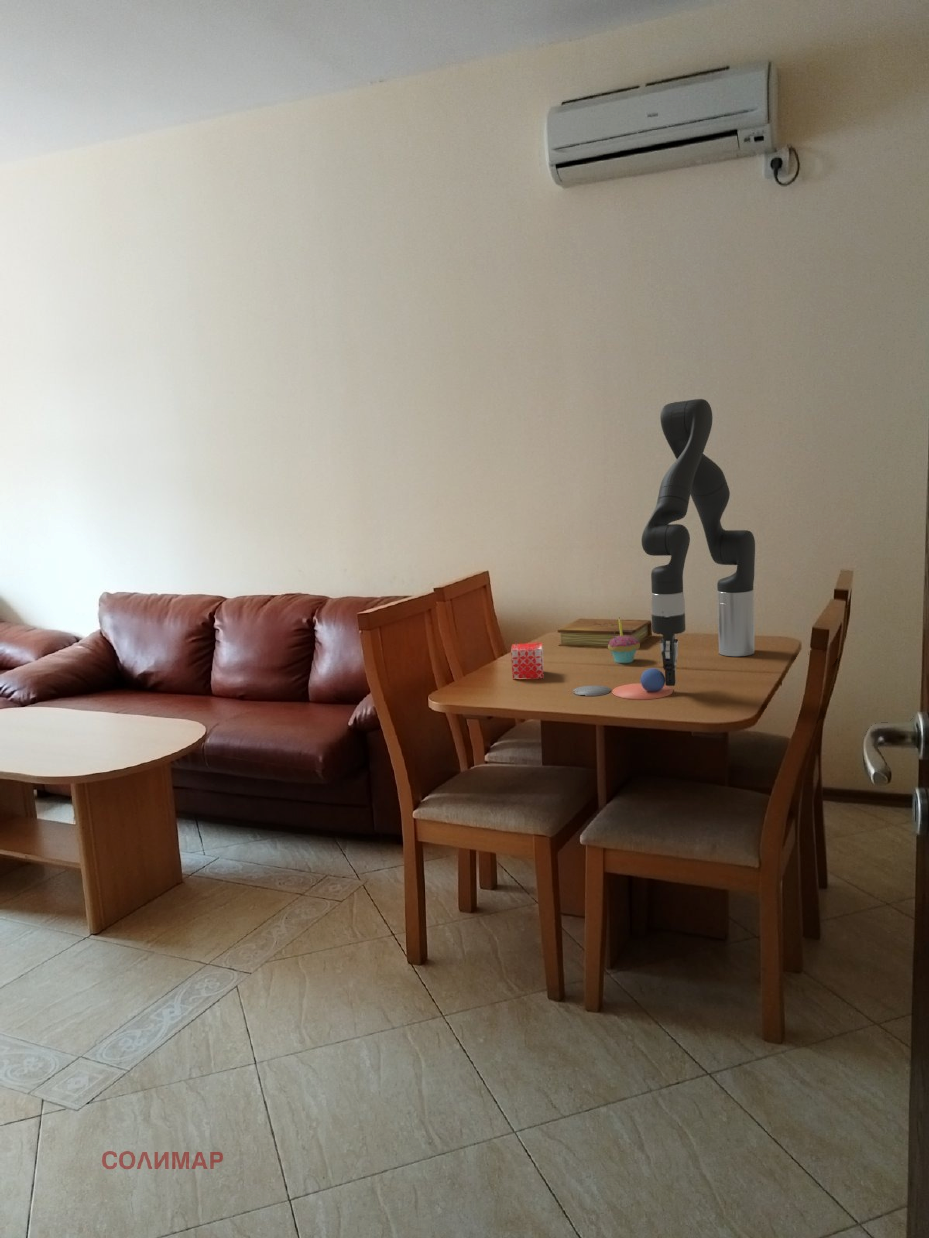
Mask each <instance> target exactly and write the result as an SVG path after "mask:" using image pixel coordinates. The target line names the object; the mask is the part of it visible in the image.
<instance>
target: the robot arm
mask: <svg viewBox="0 0 929 1238" xmlns="http://www.w3.org/2000/svg"><path fill="white" fill-rule="evenodd" d="M659 419H660V425H661V429H662V432H663V435H664V437H665V440H666V441H667V444H668V446H669V447H670V449H671V451H672V453H673V455H674V457H675V459H676V460H675V461H674V462H673V464H672V465H671V466H670V467H669V469H668V470H667V471H666V473H665V475H664V476H663V478H662V480H661V482H660V487H659V491H658V494H657V495H658V496H657V502H656V505H655V508H654V510H653V512H652V514H651V516H650V518H649V519H648V521H647V523H646V525H645V527H644V529H643V531H642V536H641V547H642V550H643V552H644V553H646V555H648V556H652V557H653V556H654V557H655V556H656V557H657V556H658V557H660V556H661V557H663V556H664V557H666V556H668V557H669V556H670V559H669V562H668V563H667V564H664V565H660V566H659V565H658V566H655V567H654V568H653V569H652V570H651V575H650V579H651V600H650V601H651V602H650V607H651V609H650V610H651V612H650V613H651V615H650V616H651V623H652V633H653V634H656V635H662V638H660V640H659V649H660V655H661V661H662V668H663V670H664V677H665V684H664V685H666V686H669V687H674V686H676V682H677V681H676V669H677V668H676V667H677V665H676V664H677V660H678V654H679V652H678V646H679V639H678V638H676V635H679V634H682V633H684V632H685V631H686V604H685V603H686V602H685V597H684V596H685V595H684V568H685V563H686V560H687V559H686V558H687V554H688V551H689V547H690V543H691V542H690V541H691V535H690V532H689V530H688V528H687V527H686V526H685V525H684V524H679V523H678V524H677V523H673V522H677V521H680V520H683V519H684V518H685V517H686V516H687V512H688V509H689V503H690V498H691V499H692V502H693V504H694V506H695V508H696V512H697V513H698V517H699V519H700V522H701V526H702V528H703V532H704V536H705V539H706V544H707V547H708V551H709V553H710V556H711V559H712V560H713V562H714V563H716V564H718V565H723V566H736V571H735V572H734V573H733V574H731V575H729V576H726V577H723V578H720V579H719V580H718V581H717V587H716V588H717V589H716V590H717V591H716V592H717V620H718V621H717V623H718V624H717V625H718V628H717V629H718V653H719V654H720V655H722V656H727V657H745V656H751V655H753V654H755V603H754V602H755V599H754V594H755V593H754V591H755V590H754V583H755V567H756V566H755V563H756V562H755V561H756V540H755V536H754V534H753V532H752V531H750V530H745V529H738V530H737V529H732V530H731V529H730V530H729V529H728V530H726V529H724V527H723V526H722V522H721V520H722V517H723V514H724V512H725V510H726V507H727V506H728V503H729V500H730V495H731V493H730V492H731V491H730V488H729V484H728V482H727V479H726V476H725V473H724V472H723V469H721V467H720V466H718V464H716V462H715V461H713V459H711V458H709V457H708V456H706V455H705V454H704V451H705V448H706V446H707V443H708V440H709V437H710V435H711V431H712V428H713V427H712V426H713V420H714V419H713V411H712V408H711V405H710V403H709V402H708V401H707V400H706V399H703V398H695V399H689V400H682V401H674V402H670V403H667V404H665V405H664V406H663V407H662V408H661V411H660V417H659ZM671 523H672V524H671Z"/></svg>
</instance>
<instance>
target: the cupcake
mask: <svg viewBox="0 0 929 1238" xmlns="http://www.w3.org/2000/svg"><path fill="white" fill-rule="evenodd" d="M618 619H619V629H620V636H616V637H614V638H612V639H611V640H610V642H609V644H608V648H607V649H608V650H609V651H610V652H611V655H612V656H613V659H614V662H615V663H617V664H630V663H632V662H634V658H635V654H636V651H637V650H638V649H640V646H641V643H639V641H638V640H637V639H635V638H634V637H631V636H624V635H623V633H622V625H621V620H622V619H621V618H620V616H618Z"/></svg>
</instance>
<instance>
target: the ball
mask: <svg viewBox="0 0 929 1238" xmlns="http://www.w3.org/2000/svg"><path fill="white" fill-rule="evenodd" d="M640 683H641V685H642V687H643V688H644V689H645V690H647V691H649V692H657V691H659V690H661V689H662V688H663V686H664V685H666V684H665V674H664V673H663V672H662V671H661V670H660V669H657V668H654V667H651V668H648V669H645V670H644V671H643V672H642V674H641V677H640Z"/></svg>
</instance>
